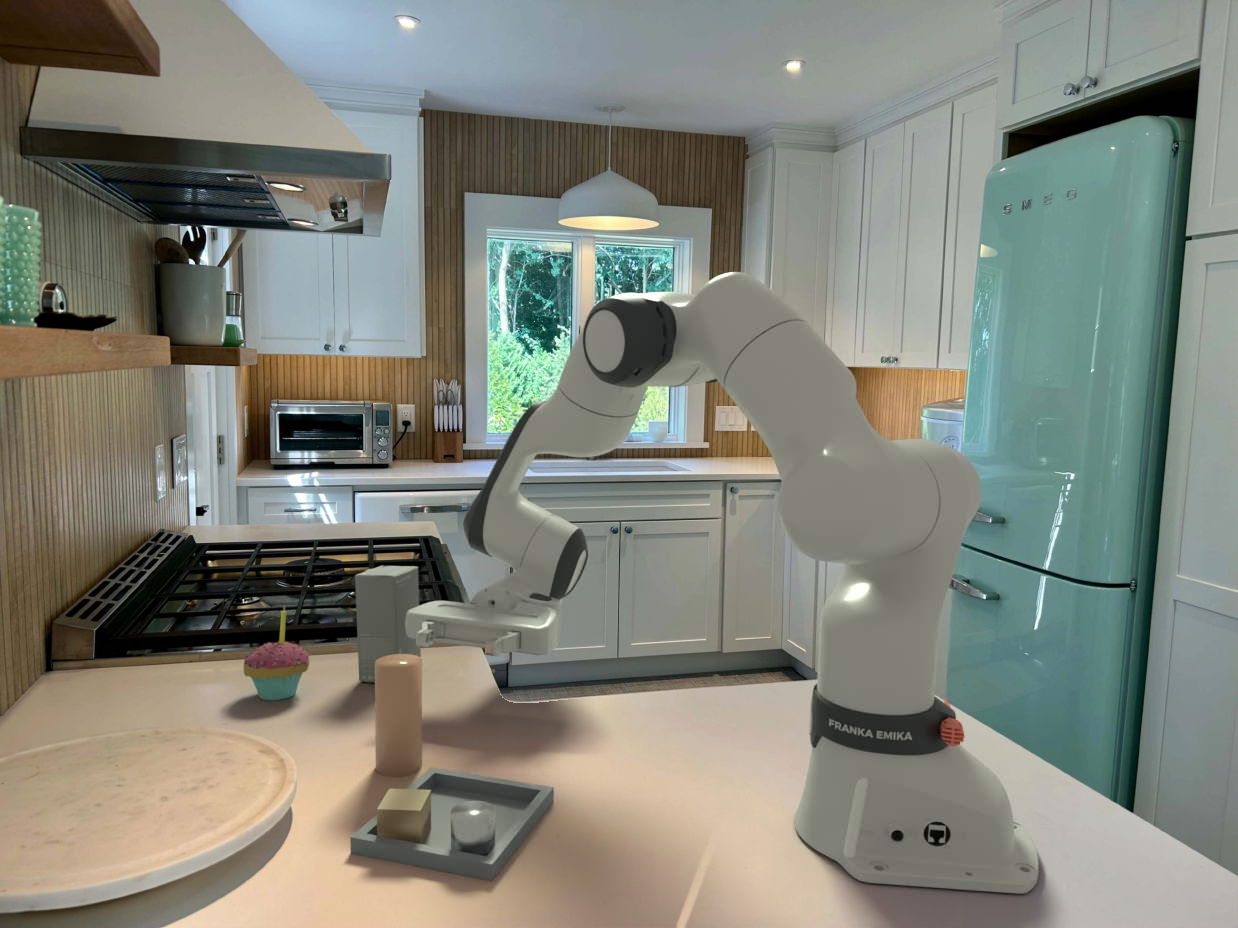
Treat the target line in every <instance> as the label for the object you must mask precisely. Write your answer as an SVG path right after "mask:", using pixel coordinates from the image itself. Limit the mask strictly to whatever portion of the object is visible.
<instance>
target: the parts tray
mask: <svg viewBox="0 0 1238 928" xmlns="http://www.w3.org/2000/svg"><path fill="white" fill-rule="evenodd" d="M406 789H419V790H431V831H430V833H429V835H428V838H427V840H426V842H425V844H418V843H413V842H408V841H403V840H397V839H392V838H387V837H382V836H377V814H375V815H374V816H373V817H372V818H371V819H370V820H368V821H367V822H366V823H365V824H364V825H363V826H362V827H360V828H359V829H358V830H357V831H356V832H354V833H353V834H352V835H351V836H350V837H349V838H350V839H349V840H350V854H351V855H356V856H357V855H358V856H360V857H361V856H362V857H367V858H373V859H377V860H383V861H387V862H390V863H391V862H392V863H397V864H401V865H407V866H413V867H418V868H422V869H428V870H434V871H437V872H441V873H442V872H444V873H448V874H452V875H458V876H463V877H468V878H471V879H479V880H482V881H488V882H493V881H494V879H496V877H497V876H498V875H499V873H500V872H501V871H502V870H503V868H504V866H505V865H506V864H507V863H508V862H509V860H510V859H511V857H513V855H514V854H515V853H516V851H517V850H518V849H519V847H520V846H521V845H522V843H523V842H524V841H525V839H526V838H527V837H529V835H530V833H531V832H532V830H533V829H534V828H535V827H536V825H537V824H538V823H539V821H540V820H541V819H542V817H543V816H544V815H545V813H547V811H548V810H549V809H550V808H551V806H552V804H553V803H554V799H555V797H554V796H555V795H554V793H555V791H554V787H553V786H547V785H542V784H541V785H540V784H536V783H530V782H529V783H528V782H524V781H516V780H510V779H504V778H498V777H491V776H485V775H479V774H473V773H466V772H462V771H461V772H460V771H455V770H448V769H442V768H437V767H436V768H435V767H430V768H429V769H428V770H426V771H425V772H424V773H422V774H421V775H420V776H419V777H418V778H417V779H415V780H414V781H413V782H412V783H411V784H410V785H408V787H407V788H406ZM468 801H484V802H488V803H490V804H492V805H493V806H494V807H495V847H494V848H493V849H492V850H491V852H490V853H489V854H488V855H487V856H482V855H476V854H471V853H466V852H460V851H455V850H451V810H452V809H453V808H454V807H455V806H456V805H458V804H460V803H463V802H468Z"/></svg>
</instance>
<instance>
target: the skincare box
mask: <svg viewBox="0 0 1238 928" xmlns="http://www.w3.org/2000/svg"><path fill="white" fill-rule="evenodd" d="M354 581H355V582H354V583H355V586H354V587H355V605H356V606H355V609H356V631H357V632H356V634H357V637H356V638H357V656H358V658H357V660H358V661H357V662H358V681H359V682H363V683H364V682H365V683H375V661H376V660H377V659H379V658H381V657H384V656H388V655H394V654H411V655H416V656H419V657H420V658H421V659H422V652H421V651H422V650H421V649H422V648H421V646H417V645H416V639H412V638H409V637H408V636H407V634H406V630H405V618H406V613H407V611H408V610H410V609H412V608H414V607H417V606H419V605H420V591H419V590H420V589H419V587H420V586H419V585H420V584H419V566H412V565H411V566H408V565H407V566H406V565H403V566H401V565H380V566H377V567H374V568H368V569H366V570H365V571H362V572H361V573H357V574H355V575H354Z"/></svg>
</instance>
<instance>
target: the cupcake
mask: <svg viewBox="0 0 1238 928" xmlns="http://www.w3.org/2000/svg"><path fill="white" fill-rule="evenodd" d="M280 613H281V614H280V622H279V623H280V628H279V639H278V641H277V642H273V643H272V642H267V643H263V644H262V645H259V646H258V647H257V648H256V649H254V650H252V652H250V653H249V654H248V655H246V657H245V659H244V660H243V661H244V663H243V674H244V676H245V677H248V678H249V677H250V678H251V680H252V682H253V684H254V686H255V690H256V693H257V695H258V697H259V698H260V700H261V699H262V700H265V701H281V700H285V699H288V698H291V697H293V696H294V695H295V694H296V692H297V689H298V686H299V683H300V680H301V677H302V675H303V673H305V672H307V671H308V669H309V667H310V658H309V657H310V652H307V650H306V649H305V648H304V647H302V646H301V645H299V644H295V643H291V642H289V641H285V639H286V638H285V637H286V623H287V611H286V605H285V604H284V605H283V610H281V612H280Z"/></svg>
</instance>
